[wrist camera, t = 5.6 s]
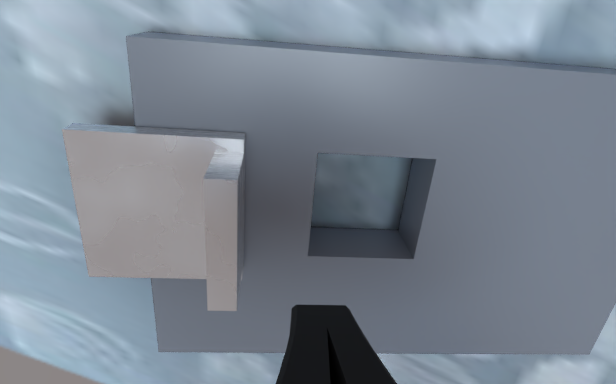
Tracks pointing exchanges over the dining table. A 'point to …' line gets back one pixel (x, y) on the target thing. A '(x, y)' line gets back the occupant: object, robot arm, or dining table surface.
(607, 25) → the dining table surface
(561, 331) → the socket plate
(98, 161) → the panel
